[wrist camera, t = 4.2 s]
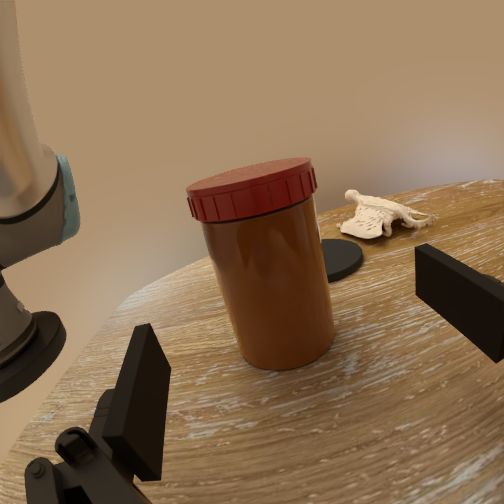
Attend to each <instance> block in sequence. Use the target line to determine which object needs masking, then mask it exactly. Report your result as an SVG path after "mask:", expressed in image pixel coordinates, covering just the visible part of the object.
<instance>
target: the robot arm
mask: <svg viewBox="0 0 504 504" xmlns="http://www.w3.org/2000/svg"><path fill="white" fill-rule="evenodd" d="M79 227H80V214H79V207H78V202H77V198H76V194H75V186H74V181H73V177H72V173H71V169H70V166H69V163H68V160H67V158H66V157H65V156H64V155H62V154H60V155H55V154H54V152H53V151H52V149H51V148H50V147H49V146H47V145H46V144H44V143H41V142H39V139H38V136H37V132H36V128H35V125H34V120H33V116H32V112H31V108H30V104H29V99H28V94H27V89H26V84H25V79H24V73H23V67H22V61H21V55H20V48H19V40H18V32H17V21H16V10H15V0H0V370H1V369H3V368H4V367H6V366H7V365H9V364H10V363H12V362H13V361H14V360H16V359H17V358H18V357H19V356H20V355H22V354H23V353H24V352H25V351H26V350H27V349H28V348H29V347H30V345H31V344H32V343H33V342H34V340H35V338H36V337H37V335H38V332H39V327H38V324H37V323H36V321H35V319H34V318H33V316H32V314H31V313H30V312H29V311H27V310H25V309H24V305H23V304H22V303H21V302H20V301H18V300H17V298H16V297H15V296H14V295H13V293H12V292H11V291H10V290H9V288H8V287H7V285H6V283H5V280H4V278H3V276H2V274H1V270H3V269H5V268H7V267H9V266H11V265H13V264H15V263H17V262H19V261H22V260H24V259H26V258H28V257H30V256H32V255H35V254H37V253H39V252H41V251H44V250H46V249H48V248H50V247H53V246H55V245H56V246H57V245H60V244H61V243H62V242H63V241H65V240H67V239H69V238H71V237H73V236H74V235H76V234H77V232H78V230H79ZM415 276H416V296H418V297H419V298H420V299H421V300H422V301H424V302H425V303H426V304H427V305H429V306H430V307H431V308H432V309H433V310H435V311H436V312H437V313H438V314H440V315H441V316H442V317H443V318H444V319H446V320H447V321H448V322H449V323H450V324H451V325H453V326H454V327H455V328H456V329H457V330H458V331H460V332H461V333H462V334H463V335H464V336H465V337H467V338H468V339H469V340H470V341H471V342H472V343H473V344H475V345H476V346H477V347H478V348H479V349H480V350H481V351H482V352H484V353H485V354H486V355H487V356H488V357H489V358H490V359H491V360H492V361H494V362H495V363H498V362H499V361H501V360H502V359H504V283H503V282H502V283H501V281H500V280H498V279H496V278H495V277H493V276H489V275H485V274H481V273H479V272H477V271H476V270H474V269H472V268H470V267H469V266H467V265H465V264H463V263H462V262H460V261H458V260H456V259H454V258H453V257H451V256H449V255H447V254H445V253H444V252H442V251H440V250H438V249H436V248H434V247H432V246H431V245H429V244H427V243H425V244H423V245H420V246H417V247H415ZM170 375H171V367H170V365H169V363H168V361H167V359H166V357H165V354H164V352H163V350H162V348H161V346H160V344H159V342H158V340H157V337H156V335H155V333H154V331H153V329H152V326H151V324H150V323H148V324H144V325H139V326H135V328H134V331H133V334H132V337H131V340H130V343H129V346H128V349H127V352H126V355H125V358H124V361H123V364H122V367H121V370H120V374H119V377H118V380H117V383H116V386H115V389H108V390H106V391H105V392H104V393H103V395H102V396H101V397H100V399H99V401H98V404H97V407H96V409H97V410H95V413H94V418H93V420H92V423H91V426H90V429H89V433H87V432H86V431H85V430H84V429H83V428H80V427H72V428H69V429H67V430H65V431H64V432H62V433H61V434H60V435H59V436H58V438H57V440H56V442H55V451H56V452H57V453H58V454H59V455H60V456H61V457H62V459H63V460H64V461H65V462H62V463H58V464H55V465H53V464H52V463H51V462H50V461H49V460H48V459H47V458H43V457H40V458H36V459H34V460H32V461H31V462H30V463H29V464H28V465H27V467H26V469H25V475H24V476H25V488H26V498H27V504H152V502H151V501H150V500H149V499H148V498H147V497H146V496H145V495H144V494H143V493H142V492H141V491H140V489H139V488H138V487H137V486H136V485H135V484H134V483H133V479H134V474H135V475H136V476H137V477H138V478H139V479H140V480H141V481H142V482H144V481H160V480H161V474H162V459H163V446H164V433H165V422H166V412H167V402H168V392H169V383H170Z"/></svg>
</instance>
